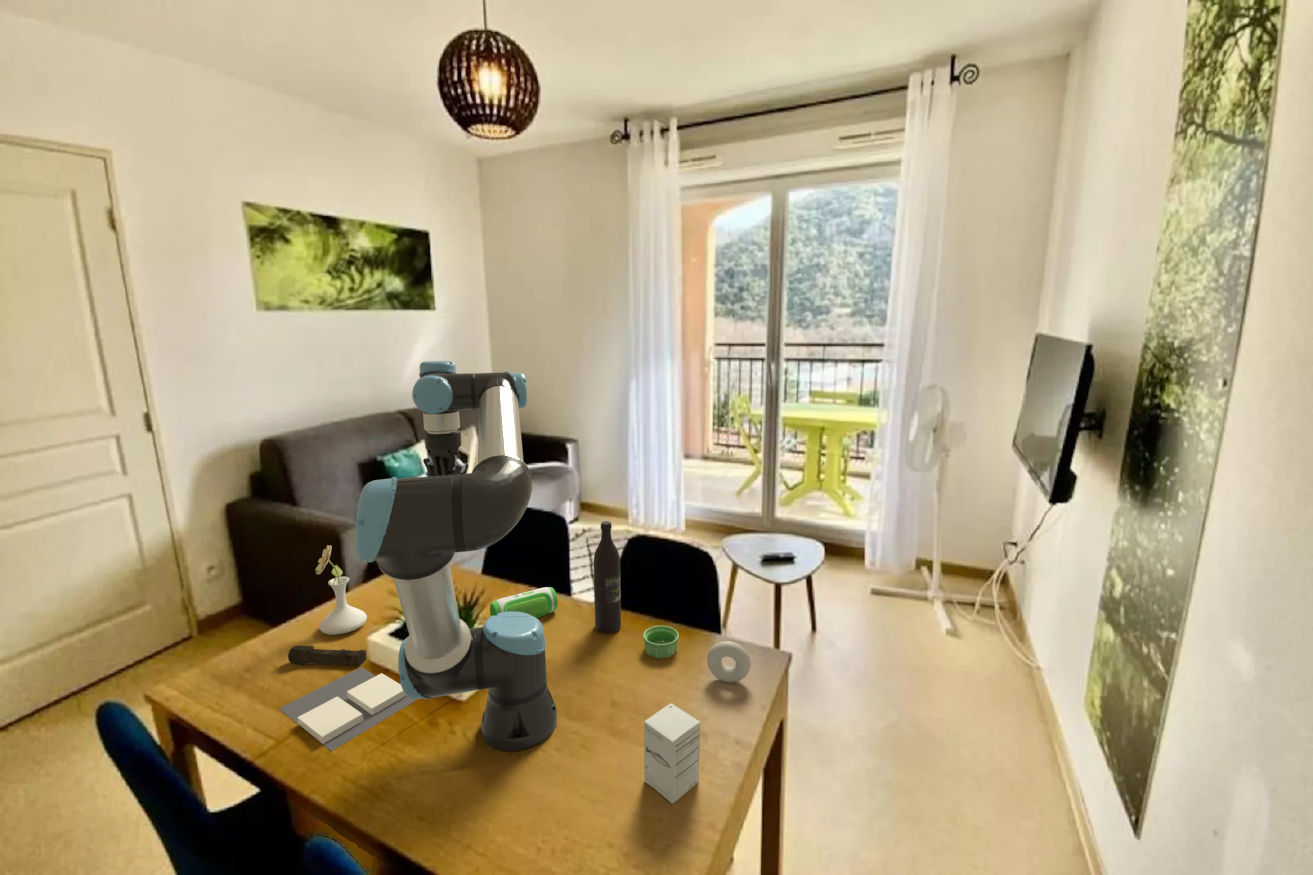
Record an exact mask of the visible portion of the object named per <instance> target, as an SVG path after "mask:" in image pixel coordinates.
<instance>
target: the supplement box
mask: <svg viewBox="0 0 1313 875" xmlns="http://www.w3.org/2000/svg"><path fill="white" fill-rule="evenodd" d="M643 722H644V723H643V726H644V729H643V730H644V731H643V733H644V734H643V735H644V736H643V738H644V739H643V742H644V743H643V747H644V748H643V754H644V755H643V756H644V757H643V764H644V765H643V773H644V774H643V781H644V783H646V784H647V785H649V786H650V787H651V788H653V789H654V790H655V791H657V792H658V794H660V795H661V796H662V797H664V798H665V799H666V800H667V801H668V802H669V803H671V804H672V805H673V804H674V803H676V802H677V801H679V800H680V798H682V797H683V796H684V795H685V794H686V793H688V792H689V791H690V790H691V789H693V788H694V786H696V785H697V784H698V783H699V781H700V778H699V777H700V758H701V756H700V751H701V750H700V749H701V721H700V720H698V719H697V718H695V717H693V716H692V715H691V714H689V713H687V711H684V710H683V709H681V708H680V707H678V706H676V705H675V704H674V703H671V702H670V703H669V704H668V705H666V706H664V707H663V708H662V709H661V708H660V710H658V711H657V712H656V713H654V714H653V715H651V716H650V717H648V718H647V719H646V720H645V721H643Z"/></svg>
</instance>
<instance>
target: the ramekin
mask: <svg viewBox="0 0 1313 875" xmlns="http://www.w3.org/2000/svg"><path fill="white" fill-rule="evenodd" d="M679 636H680V634H679V632H678V631H677V629H675V628H673V627H671V626H668V625H654V626H653V625H652V626H651V627H649V628H647V629H645V631H644V632H643V636H642V637H643V641H644V642H643V643H644V650H645V653H646V652H647V653H646V654H647V655H648V656H649V657H651V656H653V657H652V658H654V657H655V658H654V659H658V658H664V659H667V658H666V657H669V656H671V655H673V654H674V653H675V652H676V653H677V651H676V650H678V640H679ZM662 641H664V642H662ZM676 653H675V654H676ZM675 654H674V655H675ZM674 655H673V656H674ZM671 657H672V656H671ZM669 658H670V657H669Z"/></svg>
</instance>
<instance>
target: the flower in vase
mask: <svg viewBox="0 0 1313 875" xmlns="http://www.w3.org/2000/svg"><path fill="white" fill-rule="evenodd" d="M331 553H332V545H328V544H327V546H326V548H324V549H323V551H322V554H321V556H322V557H320V558H319V559H318V565H317V566H316V568H315V574H316V575H320V574H322V572H323V571H324V569H326V566H327V565H328V563H329V564H330V565H331V566H332V570H331V574H332V575H333V576H334V578H331V579H330V580H328V582H327V584H328V585H329V586H330V587H331V588H332V590H333V592H334V595H335V600H336V601H335V603H336V605H335V608H334V609H333V610H332V611H330V612H329V613H328V614H327V615H326V616H325V617H324V618H323V619H322V620H321V622H320V624H319V630H320V632H322V633H323V634H325V635H334V636H335V635H342V634H343V635H344V634H348V633H350V632H352V631H355V630H357V629H359V628H360V627H362V626H363V625H364V624H365V623H366V621H367V619H368V615H367V614H366V612H365V611H363V610H362V609H359V608H357V607H355V606H351V605H349V604H348V602H347V599H346V598H347V597H346V587H347V584H348V582H349V581H350V577H348V576H343V570H342V569H341V567H339V566H338V564H335V565H334V563H332V561H331V560H330V557H331Z"/></svg>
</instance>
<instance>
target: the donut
mask: <svg viewBox="0 0 1313 875" xmlns="http://www.w3.org/2000/svg"><path fill="white" fill-rule="evenodd" d="M726 657H728V658H732V659H733V660H734V662H735V665H733V666H727V665H725V664H724V663H723V660H722V659H723V658H726ZM706 661H707V667H708V670H709V671H710V673H711V674H712V675H713V676H714V677H715V678H716V679H718V680H720V681H722V682H724V683H728V682H729V683H730V682H731V683H737V682H740V681H742V680H744V679H745V678H746V677H747V675H748V674H749V673H750V669H751V664H752V663H751V658H750V655H749V654H748V652H747V650H746V649H745V648H744V647H743V646H742V645H740V644H738V643H737V642H734V641H731V640H726V641H720V642H717V643H715V644H714V645H713V646H711V648H710V649H709V651H708V652H707V658H706Z"/></svg>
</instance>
